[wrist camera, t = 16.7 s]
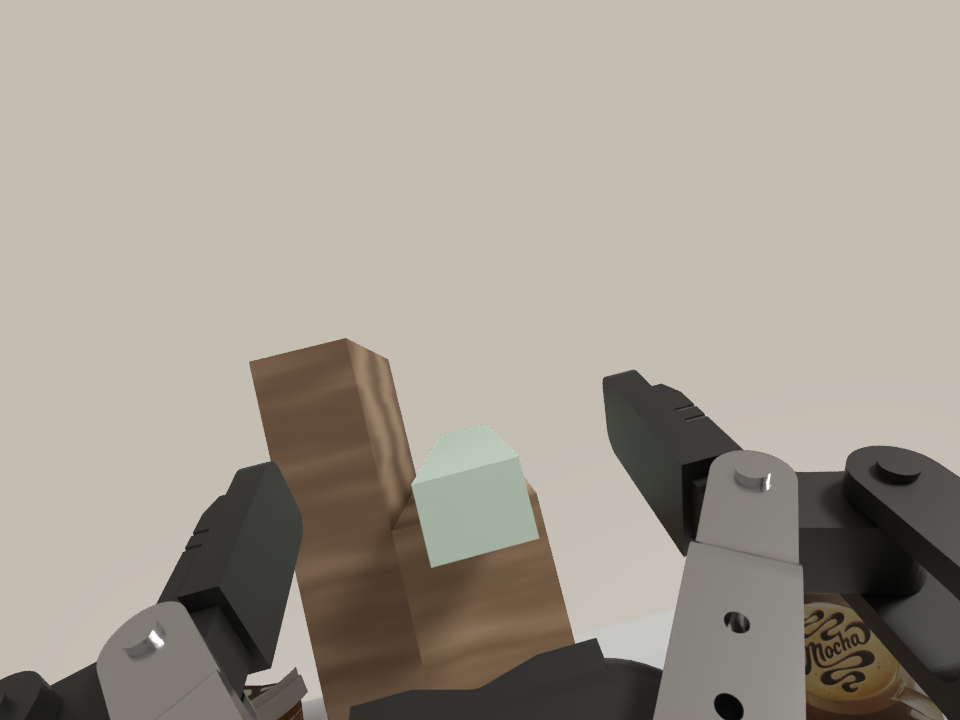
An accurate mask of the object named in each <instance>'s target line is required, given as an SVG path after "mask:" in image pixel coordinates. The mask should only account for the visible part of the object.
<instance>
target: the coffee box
mask: <svg viewBox="0 0 960 720" xmlns="http://www.w3.org/2000/svg"><path fill="white" fill-rule="evenodd" d="M804 643H805V694H806V720H944V718H943V714H942V712H941V711H940V710H939V708H938V707H937V706H936V705H935V704H934V703H933V701H932V700H931V699H930V698H929V697H928V696H927V694H926V693H925V692H924V691H923V690H922V689H921V688H920V686H919V685H918V684H917V683H916V682H915V681H914V679H913V678H912V677H911V676H910V675H909V674H908V673H907V671H906V670H905V669H904V668H903V667H902V666H901V664H900V663H899V662H898V661H897V660H896V659H895V658H894V656H893V655H892V654H891V653H890V652H889V651H888V649H887V648H886V647H885V646H884V645H883V644H882V643H881V641H880V640H879V639H878V638H877V637H876V636H875V634H874V633H873V632H872V631H871V630H870V629H869V628H868V626H867V625H866V624H865V623H864V622H863V621H862V619H861V618H860V617H859V616H858V615H857V614H856V613H855V611H854V610H853V609H852V608H851V607H850V606H849V604H848V603H847V602H846V601H845V600H844V599H843V598H842V596H841V595H840V594H839V593H813V592H804Z"/></svg>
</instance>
